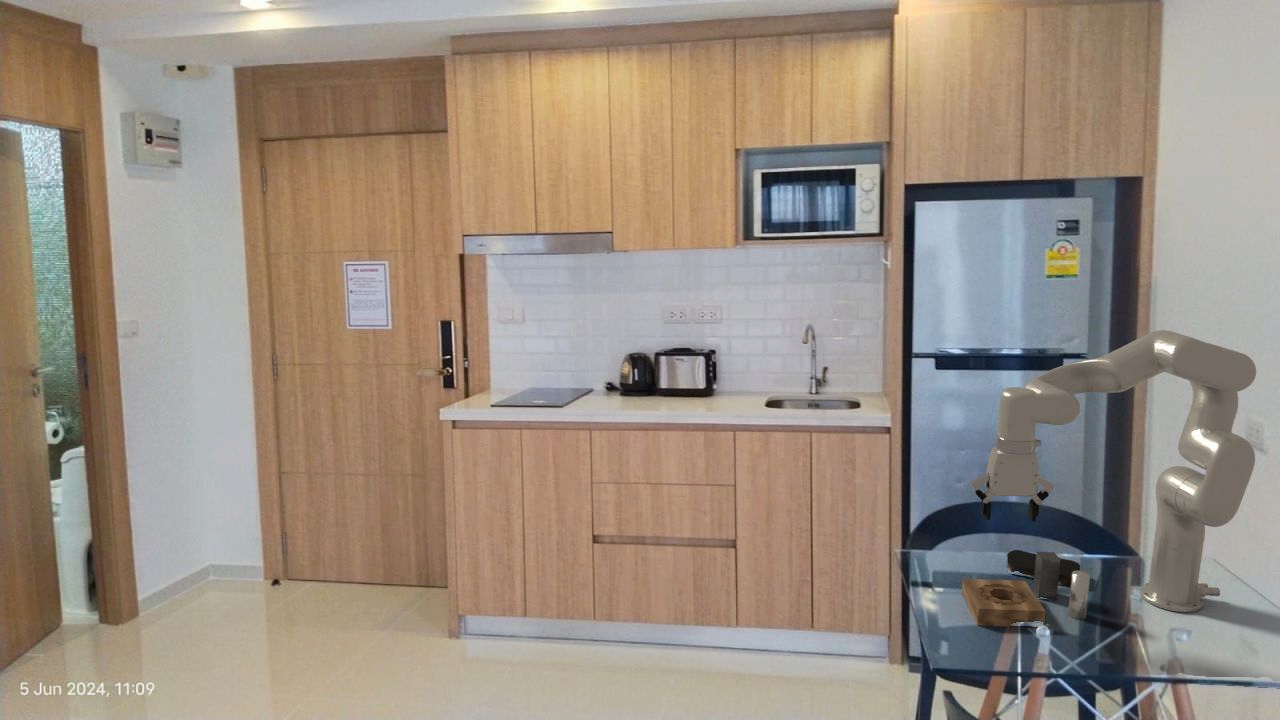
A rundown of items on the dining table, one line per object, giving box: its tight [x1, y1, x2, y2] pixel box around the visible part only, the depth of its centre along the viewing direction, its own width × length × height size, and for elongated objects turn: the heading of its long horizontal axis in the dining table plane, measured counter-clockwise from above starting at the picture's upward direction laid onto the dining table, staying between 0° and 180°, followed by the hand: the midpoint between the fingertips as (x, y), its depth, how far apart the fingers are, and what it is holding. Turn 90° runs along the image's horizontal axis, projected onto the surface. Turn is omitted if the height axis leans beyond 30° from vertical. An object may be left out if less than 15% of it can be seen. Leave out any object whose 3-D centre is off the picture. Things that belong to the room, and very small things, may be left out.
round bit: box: [1067, 570, 1091, 620], centre depth 199 cm, size 4×4×10 cm
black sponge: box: [1006, 549, 1081, 588], centre depth 219 cm, size 16×8×4 cm, turn 58°
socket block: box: [961, 578, 1046, 627], centre depth 202 cm, size 14×14×4 cm
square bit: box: [1032, 551, 1060, 601], centre depth 208 cm, size 4×4×10 cm
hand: (1008, 518), depth 197 cm, fingers open, 9 cm apart
